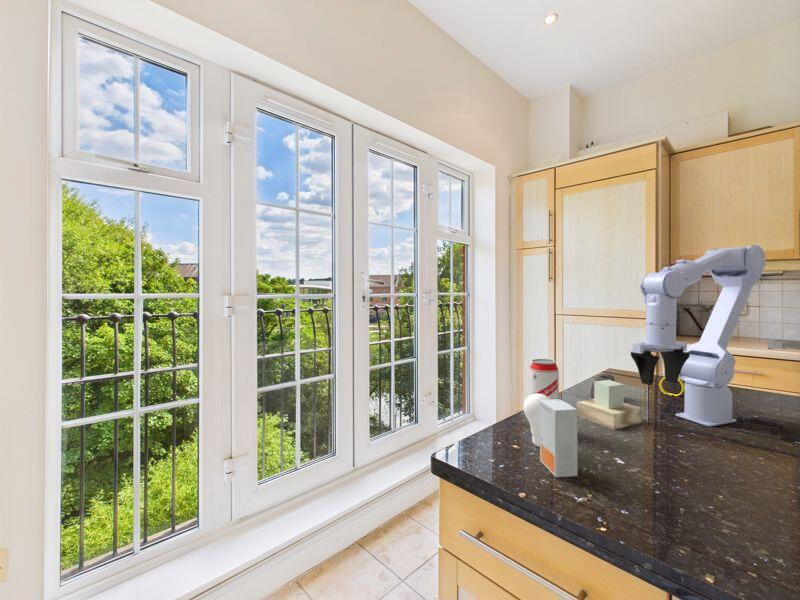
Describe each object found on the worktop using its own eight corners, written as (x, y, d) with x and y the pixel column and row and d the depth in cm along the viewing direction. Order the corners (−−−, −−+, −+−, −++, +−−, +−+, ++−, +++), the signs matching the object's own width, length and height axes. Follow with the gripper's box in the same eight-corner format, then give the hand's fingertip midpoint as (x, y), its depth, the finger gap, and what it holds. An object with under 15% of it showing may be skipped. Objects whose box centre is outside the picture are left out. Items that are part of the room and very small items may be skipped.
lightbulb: (553, 442, 78) (553, 391, 78) (556, 454, 73) (556, 399, 72) (523, 438, 80) (523, 389, 80) (523, 450, 75) (523, 397, 74)
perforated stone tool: (604, 410, 97) (604, 384, 97) (582, 406, 101) (582, 381, 101) (619, 397, 108) (619, 374, 108) (599, 394, 112) (599, 371, 112)
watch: (684, 397, 109) (686, 377, 108) (682, 399, 107) (684, 379, 106) (660, 391, 113) (662, 372, 113) (657, 393, 111) (659, 374, 111)
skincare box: (539, 461, 70) (538, 399, 69) (560, 460, 70) (560, 398, 70) (555, 478, 64) (555, 410, 63) (578, 477, 64) (578, 409, 64)
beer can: (561, 436, 81) (561, 364, 81) (532, 434, 83) (531, 363, 82) (555, 425, 88) (555, 358, 87) (528, 423, 89) (527, 358, 88)
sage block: (608, 401, 94) (608, 379, 93) (623, 406, 89) (624, 384, 89) (594, 403, 92) (594, 381, 92) (608, 409, 88) (608, 386, 88)
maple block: (603, 411, 98) (603, 396, 98) (641, 424, 89) (641, 407, 89) (576, 417, 94) (576, 402, 93) (613, 431, 85) (613, 414, 84)
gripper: (654, 326, 79) (652, 389, 79) (701, 325, 83) (700, 384, 83) (624, 323, 85) (623, 381, 86) (670, 322, 90) (668, 377, 90)
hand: (659, 383), depth 85 cm, fingers open, 7 cm apart
